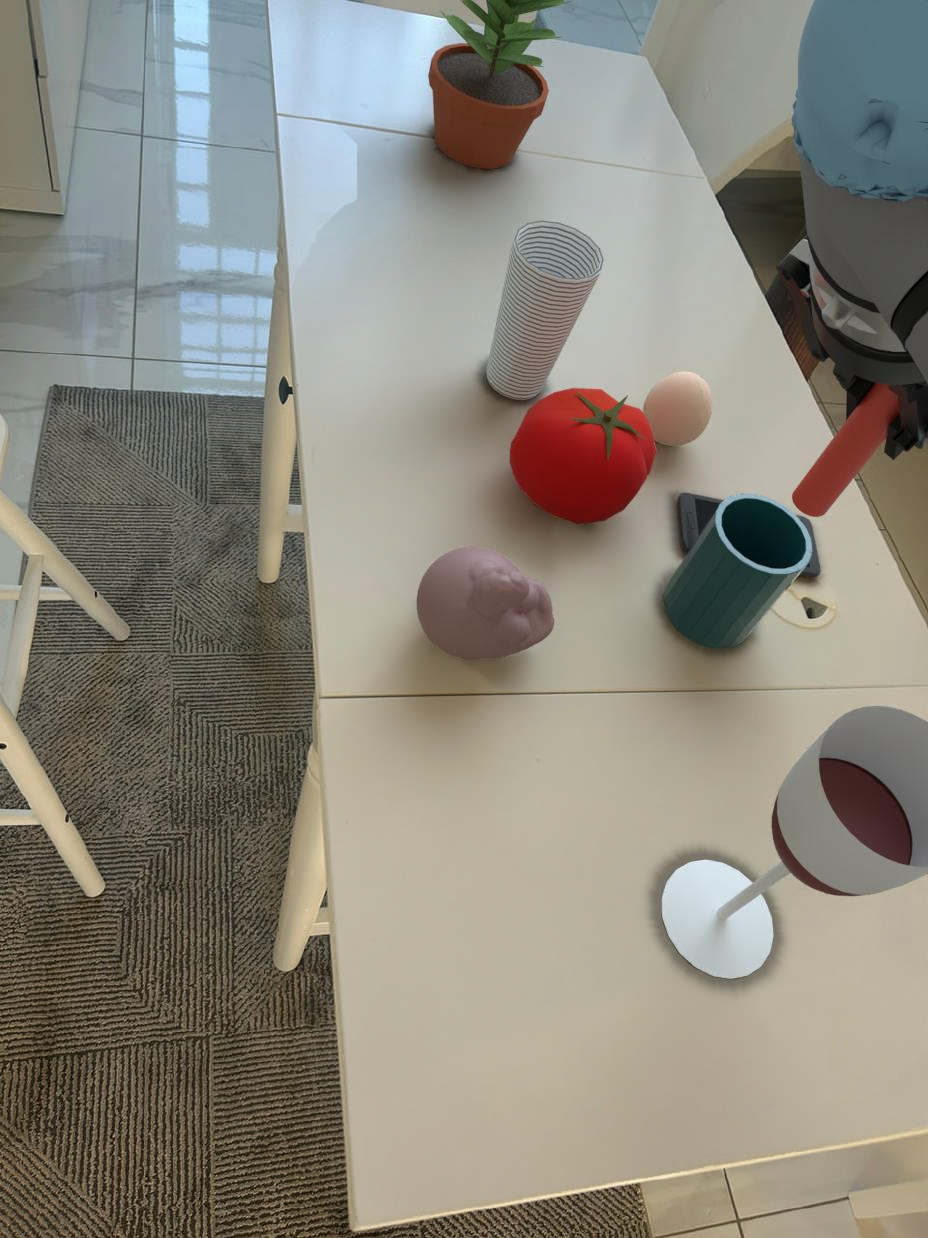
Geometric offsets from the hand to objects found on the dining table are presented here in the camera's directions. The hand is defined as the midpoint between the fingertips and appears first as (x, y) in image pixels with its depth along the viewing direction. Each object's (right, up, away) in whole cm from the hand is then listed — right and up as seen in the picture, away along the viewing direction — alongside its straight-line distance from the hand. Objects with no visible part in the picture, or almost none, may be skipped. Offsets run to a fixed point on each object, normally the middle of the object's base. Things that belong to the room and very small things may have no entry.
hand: (886, 423), depth 60 cm
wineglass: (-8, -34, +11) cm, 36 cm away
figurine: (-25, -13, +20) cm, 35 cm away
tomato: (-16, 0, +32) cm, 36 cm away
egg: (-6, +6, +40) cm, 41 cm away
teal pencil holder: (-4, -11, +28) cm, 30 cm away
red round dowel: (-4, -5, +2) cm, 6 cm away
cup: (-21, +12, +40) cm, 47 cm away
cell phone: (+1, -4, +34) cm, 34 cm away
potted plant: (-25, +48, +63) cm, 83 cm away
